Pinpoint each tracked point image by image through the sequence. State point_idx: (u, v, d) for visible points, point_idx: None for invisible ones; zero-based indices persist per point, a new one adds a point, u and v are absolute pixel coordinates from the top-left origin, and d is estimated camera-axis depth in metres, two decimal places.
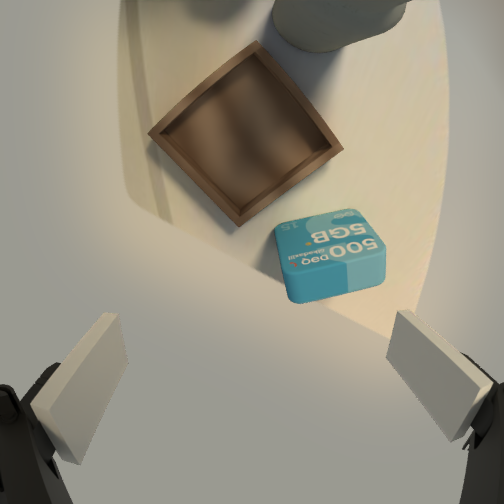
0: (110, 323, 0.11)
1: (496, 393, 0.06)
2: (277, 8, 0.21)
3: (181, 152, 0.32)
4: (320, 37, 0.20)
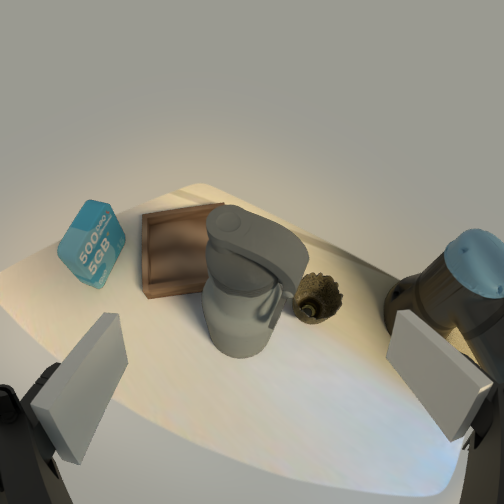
0: (110, 323, 0.11)
1: (496, 393, 0.06)
2: None
3: (202, 213, 0.55)
4: None
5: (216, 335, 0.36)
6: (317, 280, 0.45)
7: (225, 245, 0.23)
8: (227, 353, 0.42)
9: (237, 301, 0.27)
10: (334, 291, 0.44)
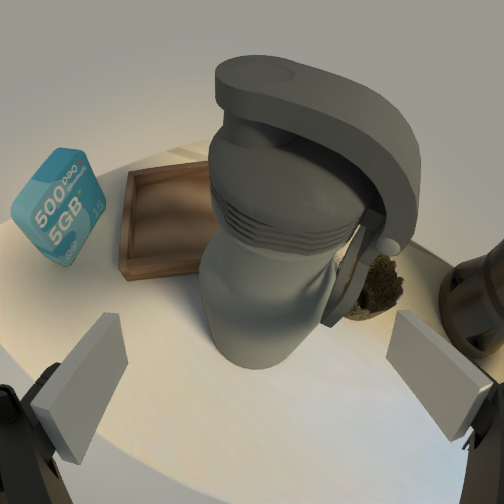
0: (110, 323, 0.11)
1: (496, 393, 0.06)
2: None
3: (206, 171, 0.41)
4: None
5: (222, 336, 0.21)
6: None
7: (259, 109, 0.08)
8: (236, 362, 0.28)
9: (272, 267, 0.13)
10: (389, 274, 0.30)
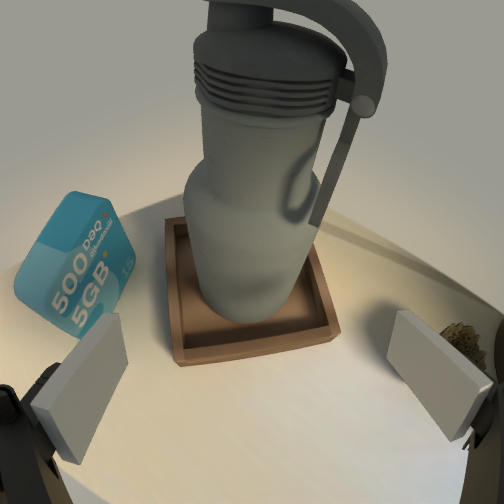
0: (110, 323, 0.11)
1: (496, 393, 0.06)
2: None
3: None
4: None
5: (206, 265, 0.21)
6: (451, 332, 0.25)
7: None
8: (225, 312, 0.27)
9: (251, 139, 0.12)
10: (470, 346, 0.23)
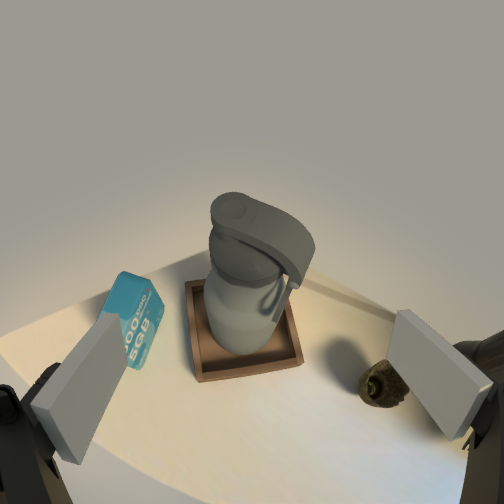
0: (110, 323, 0.11)
1: (496, 393, 0.06)
2: None
3: None
4: None
5: (218, 329, 0.35)
6: (385, 364, 0.39)
7: (230, 232, 0.22)
8: (228, 349, 0.41)
9: (240, 292, 0.26)
10: None
